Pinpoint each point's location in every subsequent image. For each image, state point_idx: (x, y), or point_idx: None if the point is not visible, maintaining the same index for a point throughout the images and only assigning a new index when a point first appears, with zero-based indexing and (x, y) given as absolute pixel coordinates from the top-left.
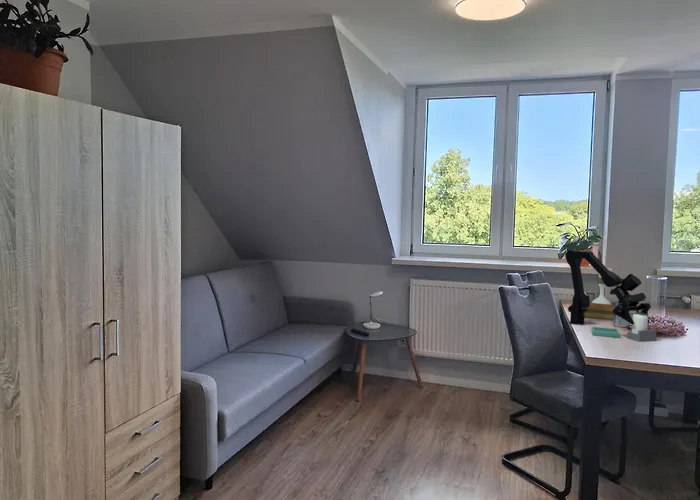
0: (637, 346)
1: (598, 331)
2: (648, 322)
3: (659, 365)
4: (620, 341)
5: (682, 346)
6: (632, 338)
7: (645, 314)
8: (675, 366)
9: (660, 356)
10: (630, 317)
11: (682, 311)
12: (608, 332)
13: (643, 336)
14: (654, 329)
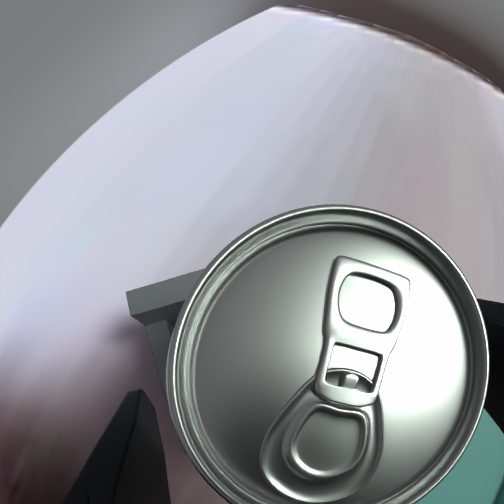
0: (379, 155)
1: (487, 484)
2: (143, 397)
3: (362, 21)
4: None
5: (94, 172)
6: None
7: (203, 364)
8: (324, 12)
9: (328, 52)
10: (496, 308)
11: None
12: (445, 485)
13: None
14: (135, 313)
